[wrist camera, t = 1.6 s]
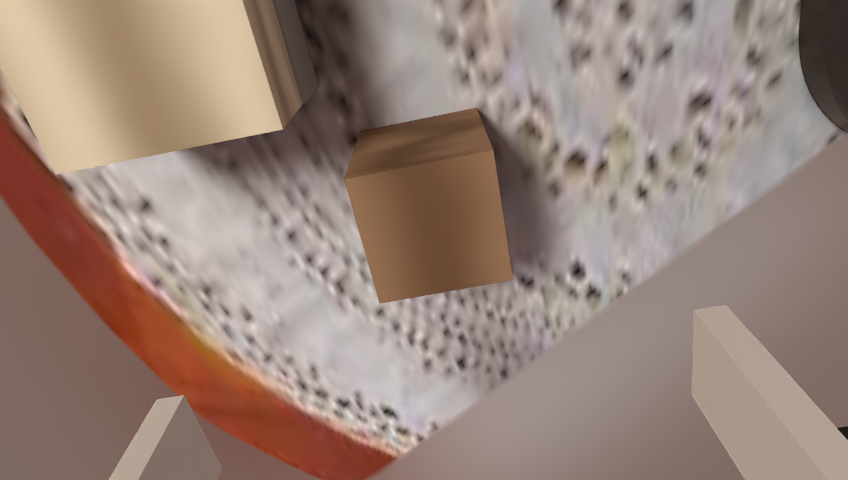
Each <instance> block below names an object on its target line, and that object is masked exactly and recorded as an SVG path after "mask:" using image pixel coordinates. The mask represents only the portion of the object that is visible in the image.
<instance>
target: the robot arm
mask: <svg viewBox="0 0 848 480" xmlns="http://www.w3.org/2000/svg"><path fill="white" fill-rule="evenodd" d="M799 47H800V58H801V63H802V69H803V72H804V76H805V79H806V82H807V85H808V87H809V89H810V91H811V93H812V96H813V97H814V99H815V101H816V102H817V104H818V105H819V107H820V108H821V109H822V111H823V112H824V113H825V114H826V115H827V116H828V117H829V118H830V119H831V120H832V121H833V122H834V123H835V124H836V125H838V126H839V127H841V128H842V129H843V130H845V131H847V132H848V0H803V5H802V10H801V18H800V29H799ZM692 396H693V398H694V399H695V401H696V403H697V404H698V406H699V407H700V409H701V410H702V412H703V414H704V415H705V417H706V418H707V420H708V422H709V423H710V425H711V426H712V428H713V430H714V431H715V433H716V434H717V436H718V437H719V439H720V441H721V442H722V444H723V445H724V447H725V448H726V450H727V452H728V453H729V455H730V456H731V458H732V459H733V461H734V463H735V464H736V466H737V467H738V469H739V471H740V472H741V474H742V475H743V477H744V479H745V480H848V427H841V428H836V427H835V426H834V425H833V423H832V422H831V421H830V420H829V419H828V418H827V417H826V416H825V414H824V413H823V412H822V411H821V410H820V409H819V408H818V407H817V406H816V405H815V404H814V402H813V401H812V400H811V399H810V398H809V397H808V396H807V394H806V393H805V392H804V391H803V390H802V389H801V388H800V387H799V386H798V384H797V383H796V382H795V381H794V380H793V379H792V378H791V377H790V376H789V374H788V373H787V372H786V371H785V370H784V369H783V368H782V367H781V366H780V365H779V363H778V362H777V361H776V360H775V359H774V358H773V357H772V355H770V353H769V352H768V351H767V350H766V349H765V348H764V347H763V345H762V344H761V343H760V342H759V341H758V340H757V339H756V338H755V337H754V335H752V333H751V332H750V331H749V330H748V329H747V328H746V327H745V325H744V324H743V323H742V322H741V321H740V320H739V319H738V318H737V317H736V316H735V314H734V313H733V312H732V311H731V310H730V309H729V308H728V307H727V305H721V306H714V307H708V308H703V309H697V310H694V314H693V361H692ZM220 471H221V465H220V464H219V462H218V460H217V458H216V456H215V454H214V452H213V450H212V448H211V446H210V444H209V442H208V441H207V438H206V436H205V435H204V433H203V431H202V429H201V427H200V425H199V423H198V421H197V419H196V417H195V415H194V413H193V411H192V409H191V407H190V406H189V404H188V402H187V400H186V398H185V396H184V395H181V396H175V397H170V398H163V399H158V400H156V402H155V403H154V405H153V407H152V408H151V410H150V412H149V413H148V415H147V417H146V418H145V420H144V422H143V423H142V425H141V427H140V428H139V430H138V432H137V433H136V435H135V437H134V438H133V440H132V442H131V443H130V445H129V447H128V448H127V450H126V452H125V453H124V455H123V457H122V458H121V460H120V462H119V464H118V465H117V467H116V468H115V470H114V472H113V473H112V475H111V477H110V478H109V480H217V479H218V476H219V474H220Z"/></svg>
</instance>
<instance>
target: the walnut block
mask: <svg viewBox="0 0 848 480" xmlns="http://www.w3.org/2000/svg"><path fill="white" fill-rule="evenodd" d="M344 180H345V184H346V187H347V191H348V194H349V198H350V201H351V205H352V208H353V212H354V215H355V219H356V222H357V226H358V229H359V233H360V236H361V240H362V243H363V247H364V250H365V254H366V257H367V261H368V264H369V268H370V271H371V275H372V278H373V282H374V285H375V289H376V292H377V296H378V299H379V303H385V302H391V301H397V300H402V299H408V298H413V297H419V296H425V295H430V294H436V293H442V292H447V291H453V290H458V289H464V288H470V287H475V286H481V285H487V284H492V283H498V282H503V281H509V280H513V276H512V269H511V263H510V256H509V249H508V243H507V236H506V230H505V223H504V216H503V210H502V203H501V197H500V190H499V184H498V177H497V170H496V164H495V157H494V151H493V148H492V145H491V143H490V140H489V138H488V135H487V133H486V130H485V128H484V125H483V123H482V120H481V118H480V115H479V113H478V110H477V108H473V109H468V110H463V111H458V112H453V113H448V114H443V115H438V116H433V117H429V118H424V119H419V120H414V121H409V122H404V123H399V124H394V125H389V126H385V127H380V128H375V129H370V130H365V131H360V134H359V137H358V140H357V143H356V146H355V149H354V152H353V155H352V158H351V161H350V164H349V167H348V170H347V173H346V176H345V179H344Z"/></svg>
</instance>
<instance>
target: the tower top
mask: <svg viewBox="0 0 848 480" xmlns="http://www.w3.org/2000/svg"><path fill="white" fill-rule="evenodd" d="M0 69H1V71H2V72H3V74H4V76H5V78H6V80H7V82H8V84H9V86H10V88H11V90H12V91H13V93H14V95H15V97H16V99H17V101H18V103H19V105H20V107H21V109H22V111H23V112H24V114H25V116H26V118H27V120H28V122H29V124H30V126H31V128H32V130H33V132H34V133H35V135H36V137H37V139H38V141H39V143H40V145H41V147H42V149H43V151H44V153H45V154H46V156H47V158H48V160H49V162H50V164H51V166H52V168H53V170H54V172H55V174H61V173H66V172H71V171H76V170H81V169H86V168H91V167H96V166H101V165H106V164H111V163H116V162H121V161H127V160H132V159H137V158H142V157H147V156H152V155H157V154H162V153H167V152H172V151H177V150H182V149H187V148H192V147H197V146H202V145H207V144H212V143H217V142H223V141H228V140H233V139H238V138H243V137H248V136H253V135H258V134H263V133H268V132H273V131H278V130H283V129H284V128H285V126H286V125H287V124H288V122H289V121H290V120H291V119H292V117H293V116H294V115H295V114H296V112H297V111H298V110H299V108H300V107H301V106H302V105H303V104H302V100H301V97H300V94H299V90H298V87H297V83H296V80H295V77H294V73H293V70H292V66H291V63H290V59H289V56H288V53H287V49H286V46H285V42H284V39H283V35H282V32H281V29H280V25H279V22H278V18H277V15H276V12H275V8H274V5H273V1H272V0H0Z"/></svg>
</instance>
